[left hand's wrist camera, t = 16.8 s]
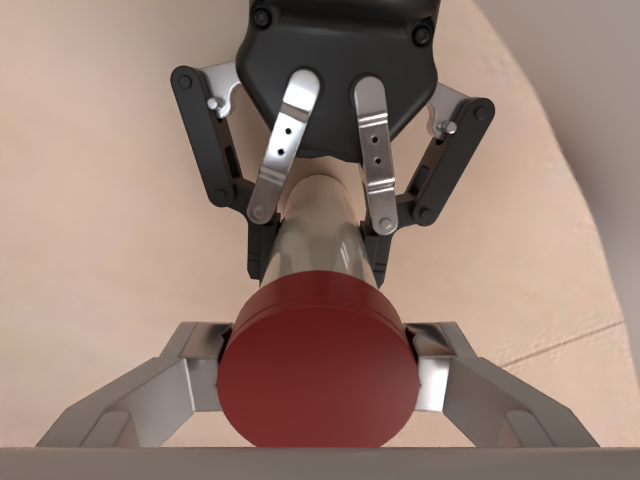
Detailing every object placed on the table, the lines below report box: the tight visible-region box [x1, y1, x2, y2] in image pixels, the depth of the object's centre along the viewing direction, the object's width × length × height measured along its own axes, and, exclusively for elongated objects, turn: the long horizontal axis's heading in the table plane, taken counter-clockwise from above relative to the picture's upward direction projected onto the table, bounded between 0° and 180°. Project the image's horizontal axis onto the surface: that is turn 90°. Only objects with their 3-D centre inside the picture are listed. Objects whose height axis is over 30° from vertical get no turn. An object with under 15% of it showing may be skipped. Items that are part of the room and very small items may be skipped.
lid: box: [217, 270, 420, 447], centre depth 10 cm, size 5×5×2 cm
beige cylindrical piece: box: [259, 175, 378, 290], centre depth 17 cm, size 4×4×16 cm
